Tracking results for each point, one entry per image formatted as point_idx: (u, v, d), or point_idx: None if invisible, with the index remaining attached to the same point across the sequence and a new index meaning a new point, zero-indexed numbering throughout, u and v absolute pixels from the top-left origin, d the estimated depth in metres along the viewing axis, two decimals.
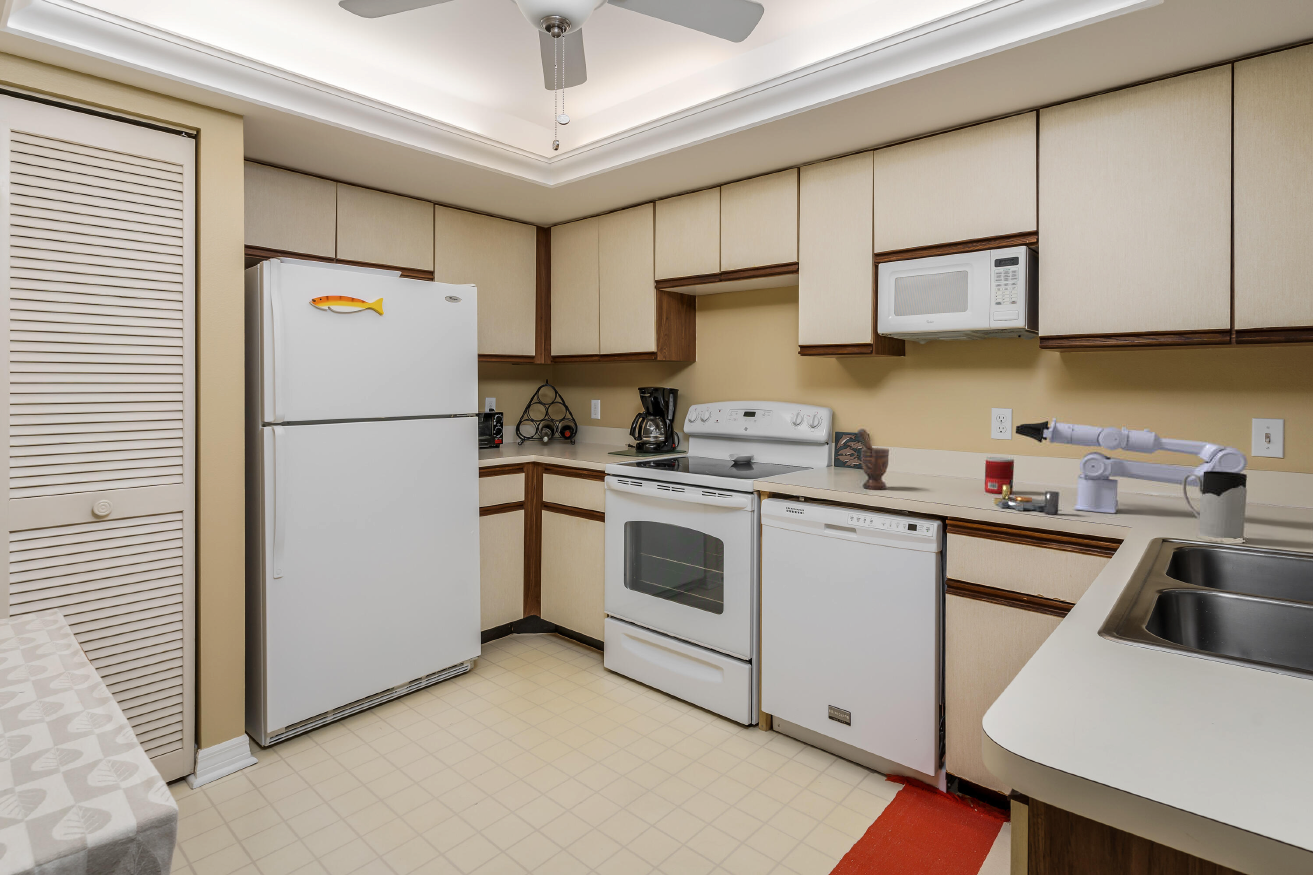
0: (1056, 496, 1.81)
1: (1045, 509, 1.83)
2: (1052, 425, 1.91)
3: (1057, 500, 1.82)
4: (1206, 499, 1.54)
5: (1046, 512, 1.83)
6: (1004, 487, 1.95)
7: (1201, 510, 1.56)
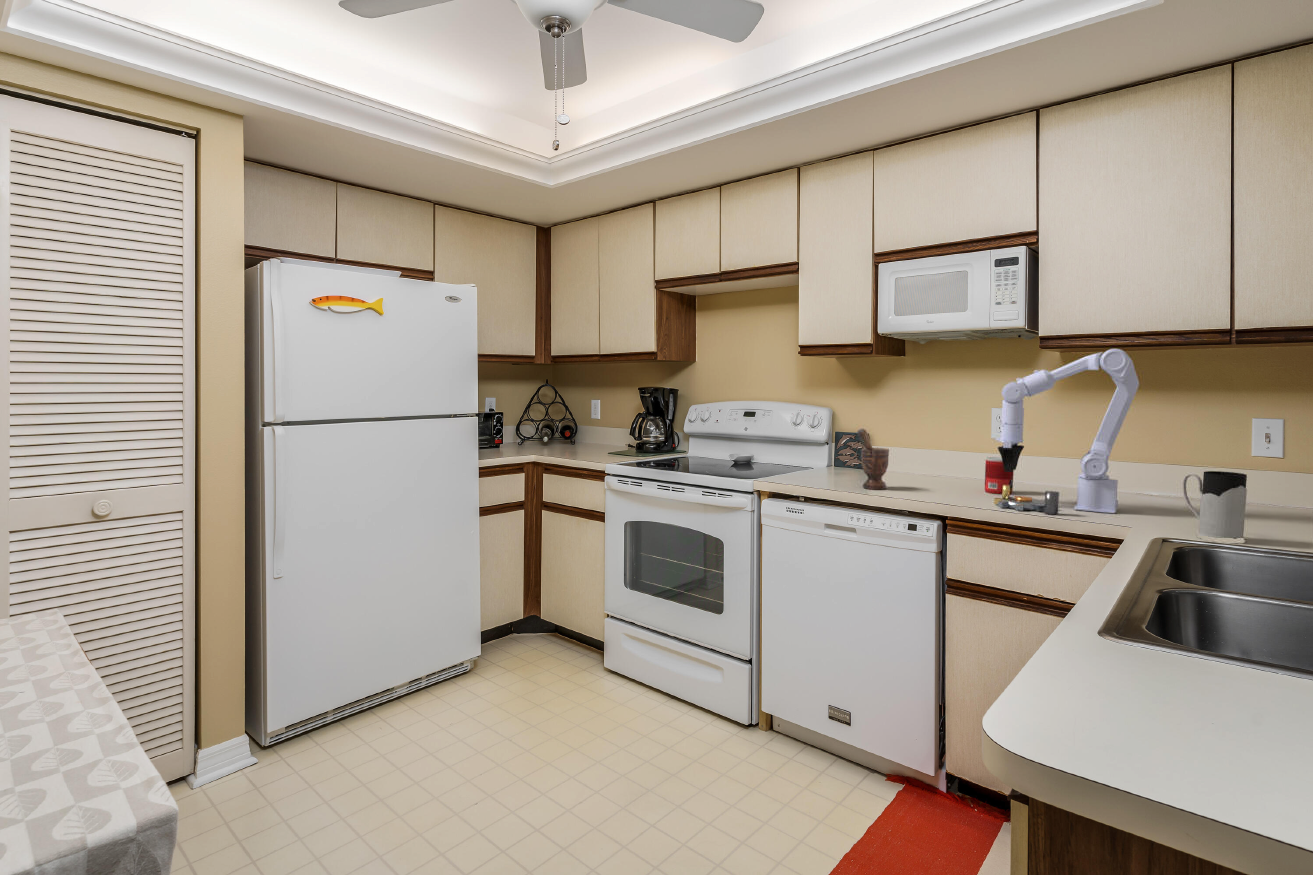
0: (1056, 496, 1.81)
1: (1045, 509, 1.83)
2: (1001, 440, 1.97)
3: (1057, 500, 1.82)
4: (1206, 499, 1.54)
5: (1046, 512, 1.83)
6: (1004, 487, 1.95)
7: (1201, 510, 1.56)
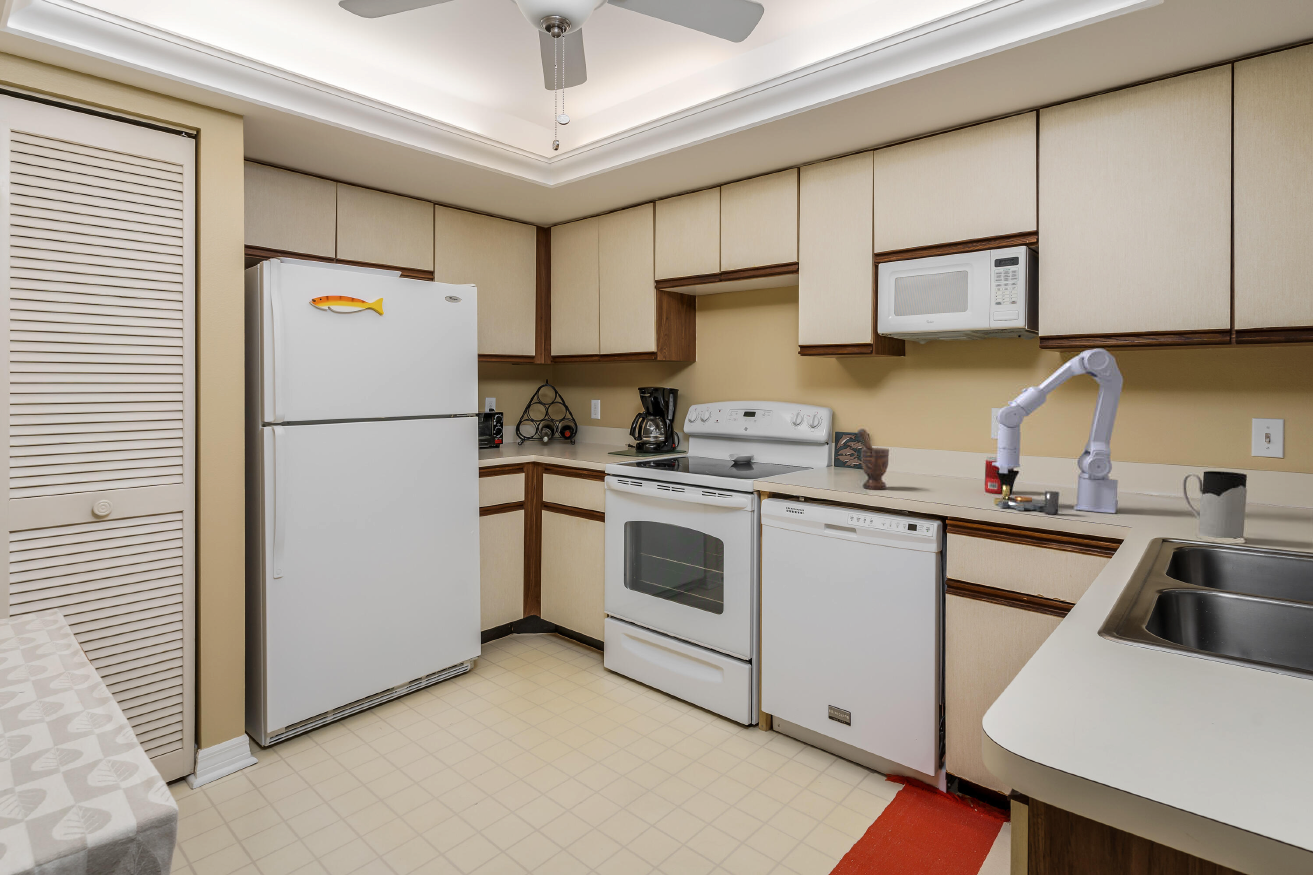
0: (1056, 496, 1.81)
1: (1045, 509, 1.83)
2: (997, 465, 1.94)
3: (1057, 500, 1.82)
4: (1206, 499, 1.54)
5: (1046, 512, 1.83)
6: (1004, 487, 1.95)
7: (1201, 510, 1.56)
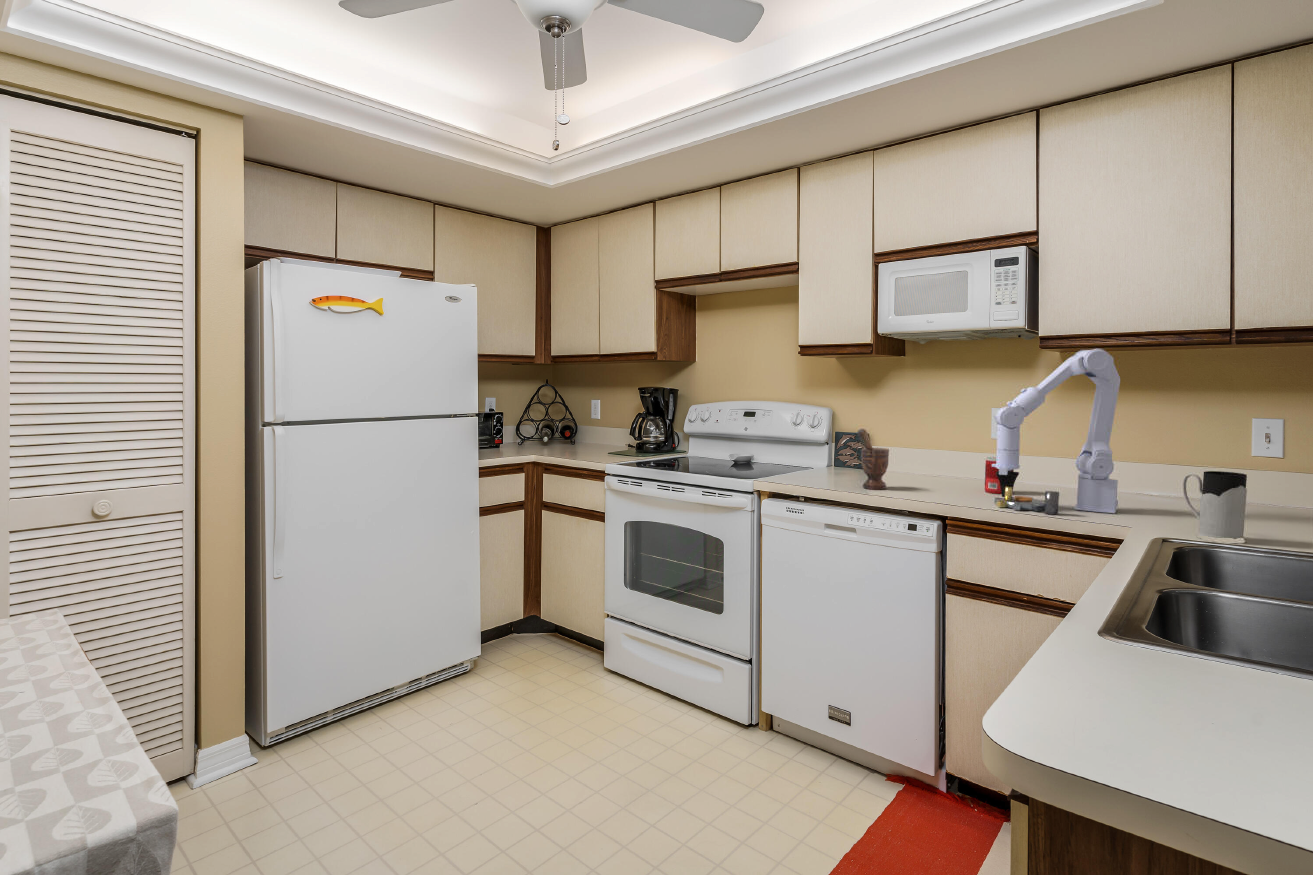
0: (1056, 496, 1.81)
1: (1045, 509, 1.83)
2: (997, 467, 1.92)
3: (1057, 500, 1.82)
4: (1206, 499, 1.54)
5: (1046, 512, 1.83)
6: (1009, 489, 1.91)
7: (1201, 510, 1.56)
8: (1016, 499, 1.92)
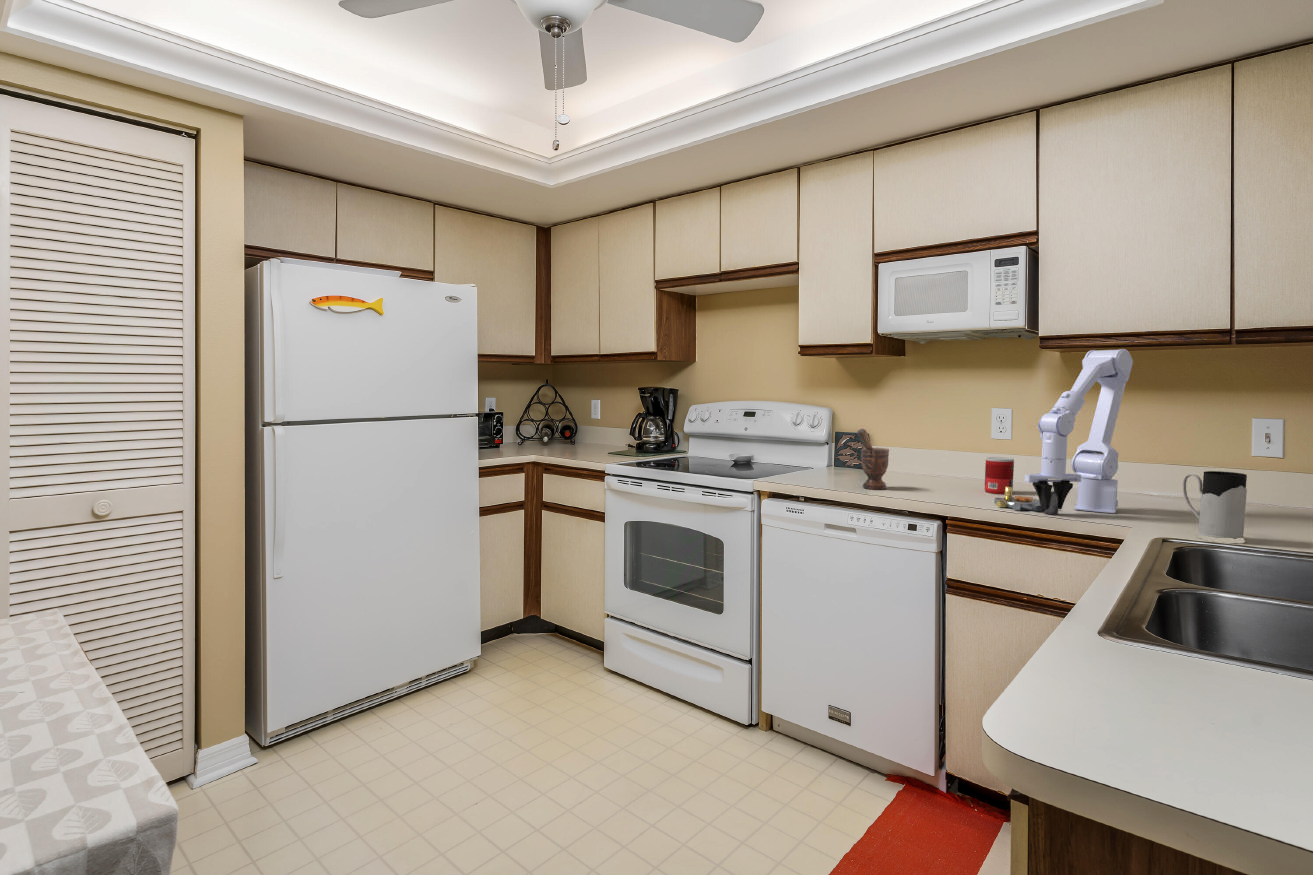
0: (1056, 496, 1.81)
1: (1045, 509, 1.83)
2: None
3: (1057, 500, 1.82)
4: (1206, 499, 1.54)
5: (1046, 512, 1.83)
6: (1009, 489, 1.91)
7: (1201, 510, 1.56)
8: (1016, 499, 1.92)
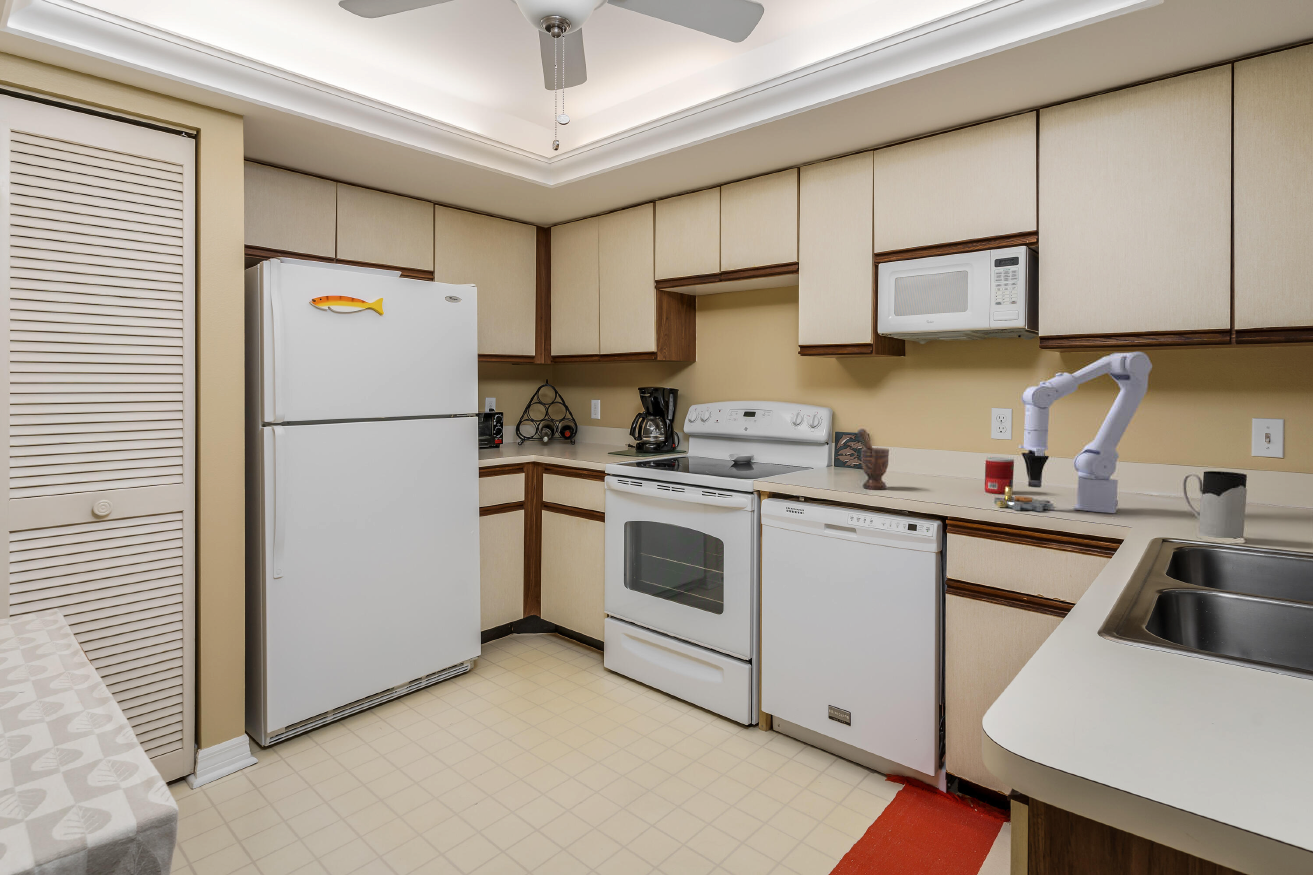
0: None
1: (1034, 482, 1.87)
2: (1028, 448, 1.86)
3: None
4: (1206, 499, 1.54)
5: (1036, 485, 1.87)
6: (1009, 489, 1.91)
7: (1201, 510, 1.56)
8: (1016, 499, 1.92)
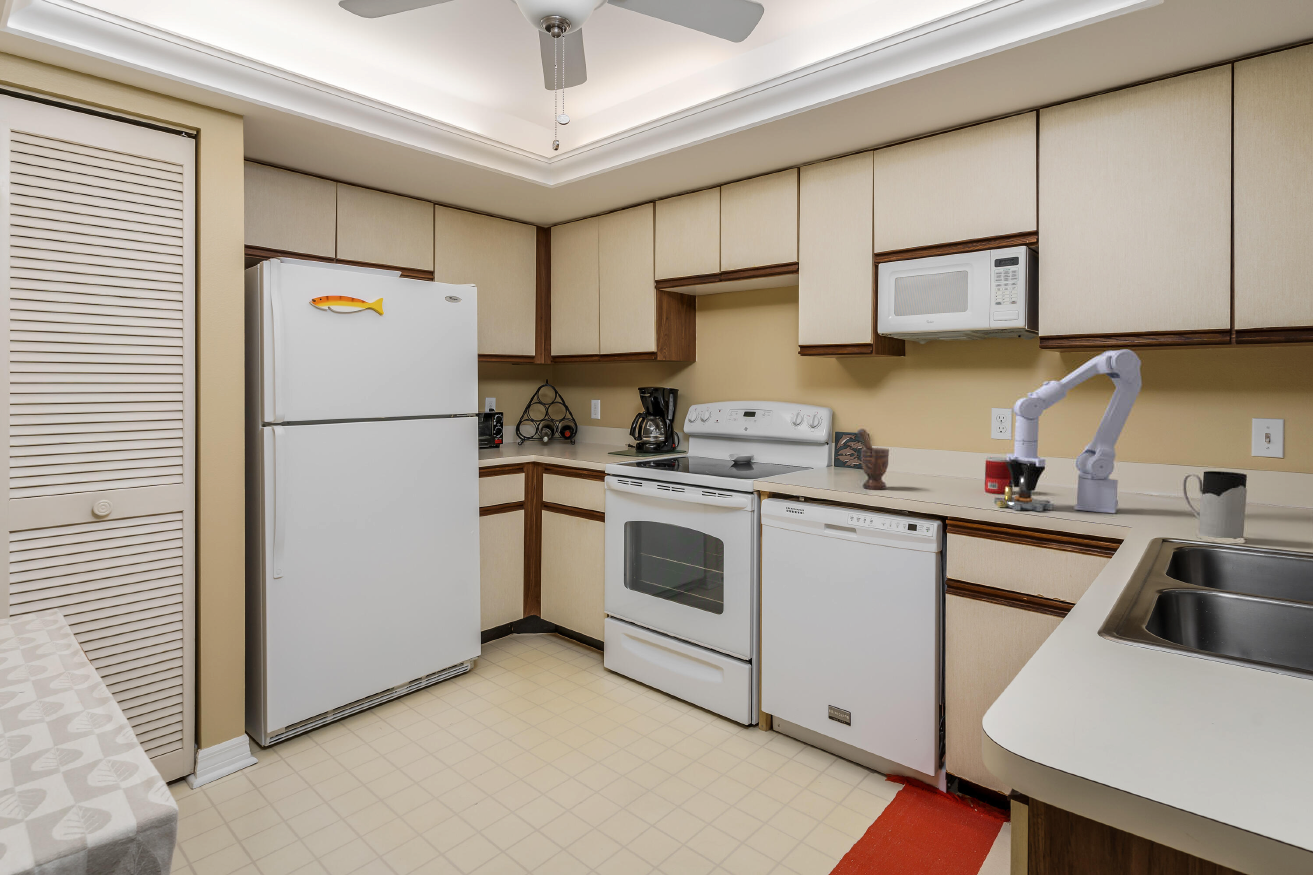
0: None
1: (1026, 493, 1.91)
2: (1024, 459, 1.88)
3: None
4: (1206, 499, 1.54)
5: (1028, 496, 1.91)
6: (1009, 489, 1.91)
7: (1201, 510, 1.56)
8: (1016, 499, 1.92)
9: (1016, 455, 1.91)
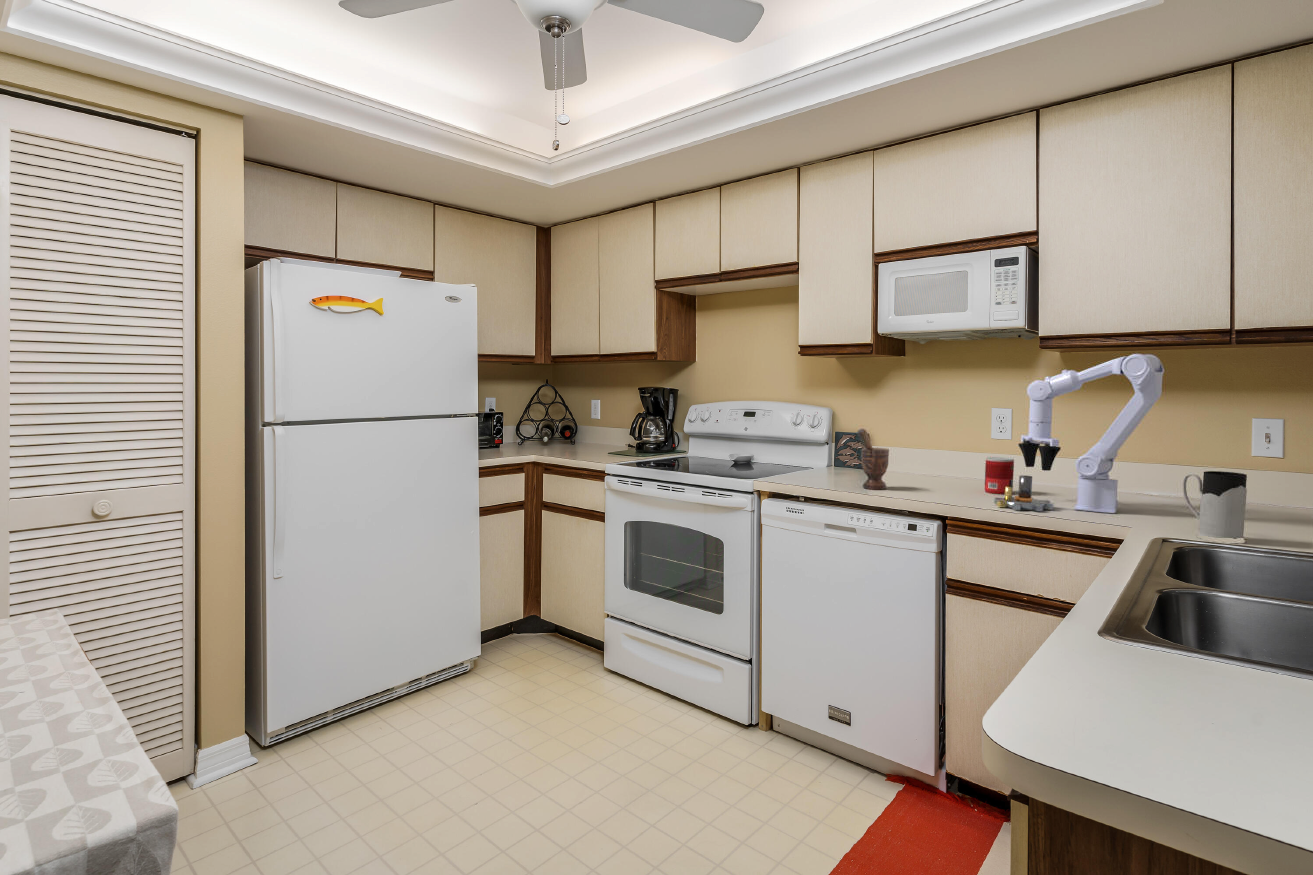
0: None
1: (1027, 493, 1.91)
2: (1039, 439, 1.96)
3: None
4: (1206, 499, 1.54)
5: (1028, 496, 1.91)
6: (1009, 489, 1.91)
7: (1201, 510, 1.56)
8: (1016, 499, 1.92)
9: (1030, 436, 1.99)
